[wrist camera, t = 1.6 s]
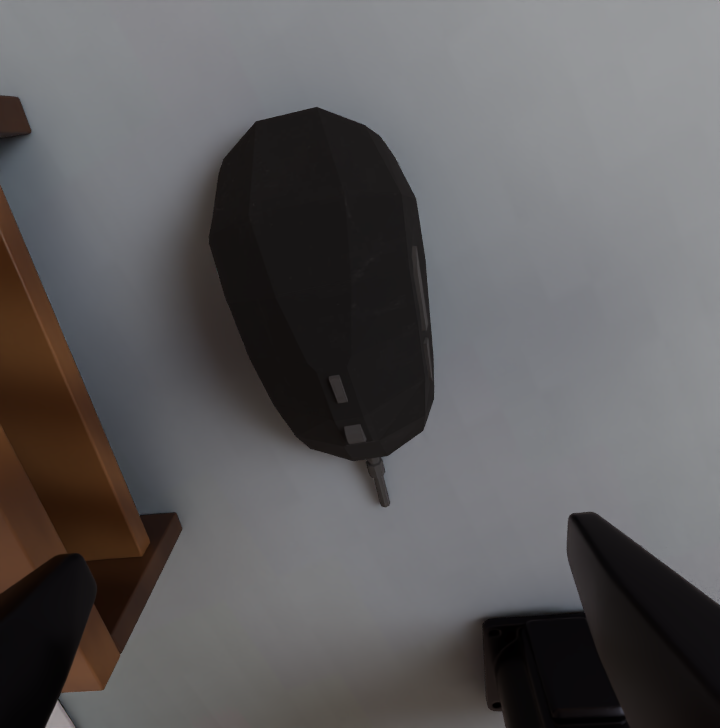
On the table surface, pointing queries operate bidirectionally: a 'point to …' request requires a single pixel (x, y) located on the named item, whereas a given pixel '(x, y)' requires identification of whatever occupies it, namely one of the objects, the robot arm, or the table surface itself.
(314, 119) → the gaming mouse
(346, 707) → the table surface
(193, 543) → the table surface
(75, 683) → the walnut wood stand
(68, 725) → the medicine bottle
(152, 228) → the table surface
